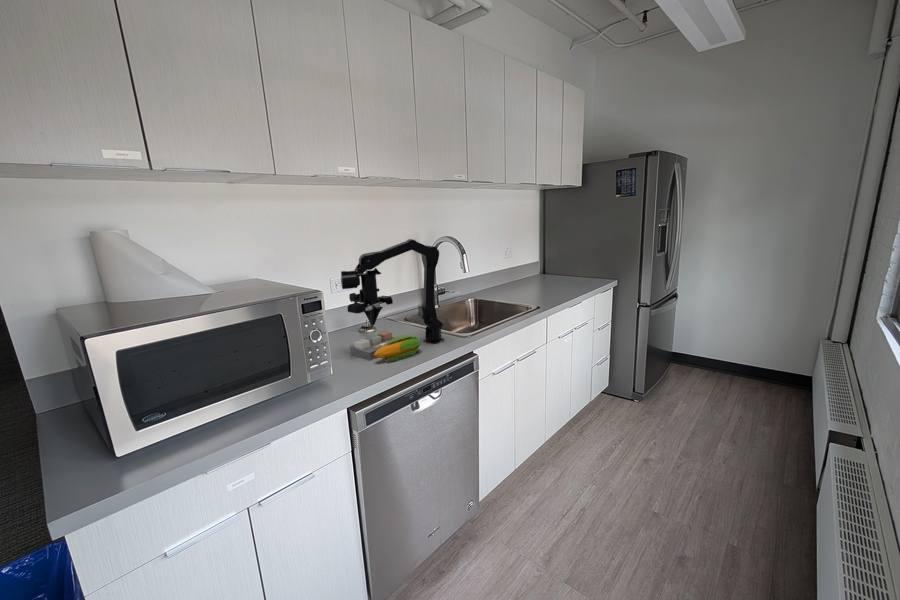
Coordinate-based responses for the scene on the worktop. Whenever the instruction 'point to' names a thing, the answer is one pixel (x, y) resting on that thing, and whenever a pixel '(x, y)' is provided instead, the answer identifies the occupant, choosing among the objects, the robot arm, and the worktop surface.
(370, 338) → the key sage
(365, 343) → the key offwhite
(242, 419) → the worktop surface
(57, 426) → the worktop surface
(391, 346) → the corn
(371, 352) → the keypad
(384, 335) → the key terracotta
